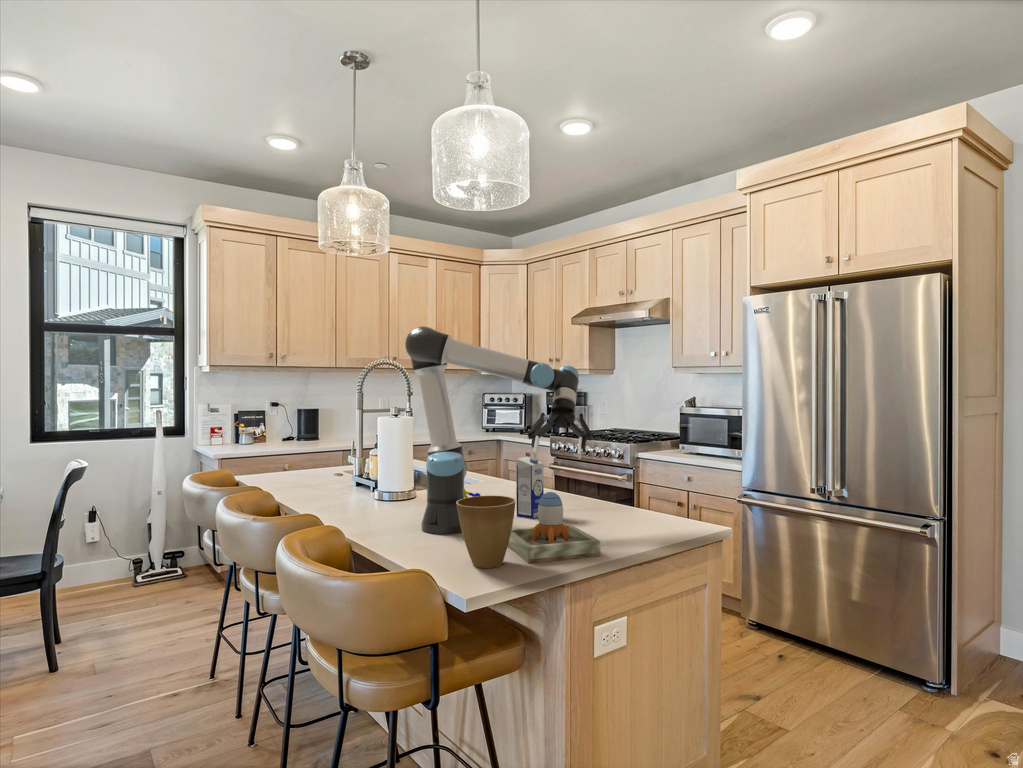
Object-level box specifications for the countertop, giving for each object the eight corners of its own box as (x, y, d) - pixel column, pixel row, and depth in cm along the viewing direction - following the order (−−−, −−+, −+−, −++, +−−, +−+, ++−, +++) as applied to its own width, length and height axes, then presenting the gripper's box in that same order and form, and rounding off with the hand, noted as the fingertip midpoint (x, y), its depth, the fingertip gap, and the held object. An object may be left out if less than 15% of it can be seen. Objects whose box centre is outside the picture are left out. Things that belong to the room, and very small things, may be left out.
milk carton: (527, 513, 212) (527, 456, 212) (544, 515, 208) (543, 457, 208) (516, 516, 206) (515, 458, 206) (532, 519, 202) (532, 459, 202)
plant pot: (489, 552, 162) (488, 492, 162) (528, 564, 151) (527, 500, 151) (444, 564, 152) (444, 500, 152) (483, 577, 141) (482, 508, 141)
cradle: (528, 563, 152) (527, 547, 152) (504, 543, 171) (504, 529, 171) (600, 555, 158) (600, 540, 158) (569, 537, 177) (569, 524, 177)
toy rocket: (567, 542, 171) (575, 492, 168) (567, 559, 160) (575, 506, 157) (531, 536, 171) (538, 486, 169) (529, 553, 161) (536, 500, 158)
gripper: (602, 412, 198) (598, 464, 183) (528, 411, 204) (518, 461, 189) (601, 397, 193) (597, 449, 178) (525, 396, 198) (514, 446, 184)
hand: (556, 455), depth 184 cm, fingers open, 13 cm apart
